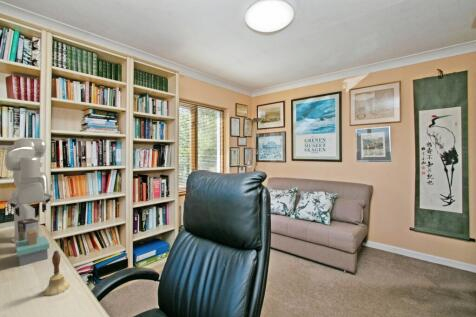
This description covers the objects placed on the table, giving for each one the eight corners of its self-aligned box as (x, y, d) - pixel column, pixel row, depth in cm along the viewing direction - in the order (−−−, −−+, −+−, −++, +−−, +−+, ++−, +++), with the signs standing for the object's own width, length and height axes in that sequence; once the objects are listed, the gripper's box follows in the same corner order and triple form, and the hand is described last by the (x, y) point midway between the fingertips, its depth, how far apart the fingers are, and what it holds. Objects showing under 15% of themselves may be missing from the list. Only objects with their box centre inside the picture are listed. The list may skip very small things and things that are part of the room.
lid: (15, 246, 118) (14, 230, 118) (44, 240, 127) (44, 225, 127) (17, 256, 108) (17, 238, 108) (49, 248, 117) (48, 232, 116)
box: (17, 256, 118) (17, 243, 118) (43, 250, 126) (43, 238, 126) (19, 266, 109) (19, 252, 109) (47, 258, 117) (47, 245, 116)
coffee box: (18, 248, 128) (17, 220, 128) (32, 244, 134) (31, 217, 133) (25, 252, 124) (24, 223, 124) (39, 247, 130) (38, 220, 129)
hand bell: (74, 285, 94) (73, 248, 93) (52, 298, 86) (51, 257, 85) (61, 281, 96) (60, 245, 96) (38, 293, 89) (37, 253, 88)
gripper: (50, 178, 125) (51, 209, 126) (6, 181, 112) (7, 215, 113) (53, 179, 120) (53, 211, 120) (6, 183, 107) (7, 218, 108)
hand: (31, 213), depth 117 cm, fingers open, 9 cm apart
